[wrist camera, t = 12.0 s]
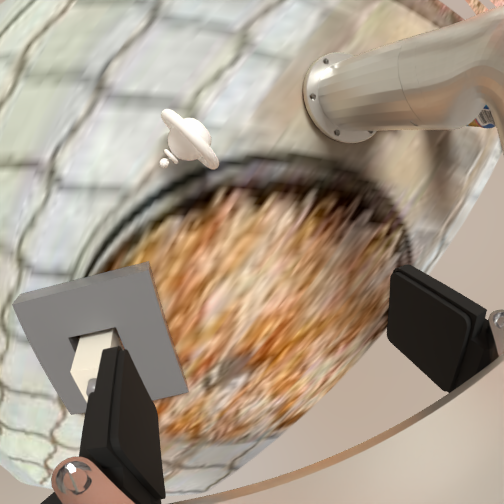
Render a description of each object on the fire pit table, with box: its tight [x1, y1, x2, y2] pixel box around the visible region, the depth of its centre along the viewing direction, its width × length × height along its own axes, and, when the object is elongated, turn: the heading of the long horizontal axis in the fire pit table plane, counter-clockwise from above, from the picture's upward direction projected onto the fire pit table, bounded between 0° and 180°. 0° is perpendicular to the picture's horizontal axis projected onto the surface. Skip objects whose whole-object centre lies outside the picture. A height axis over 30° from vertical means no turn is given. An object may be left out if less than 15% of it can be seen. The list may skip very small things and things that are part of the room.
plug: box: [70, 327, 124, 402], centre depth 32 cm, size 4×4×10 cm
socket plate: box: [12, 262, 189, 415], centre depth 35 cm, size 18×18×3 cm
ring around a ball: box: [160, 109, 219, 169], centre depth 30 cm, size 8×6×8 cm
